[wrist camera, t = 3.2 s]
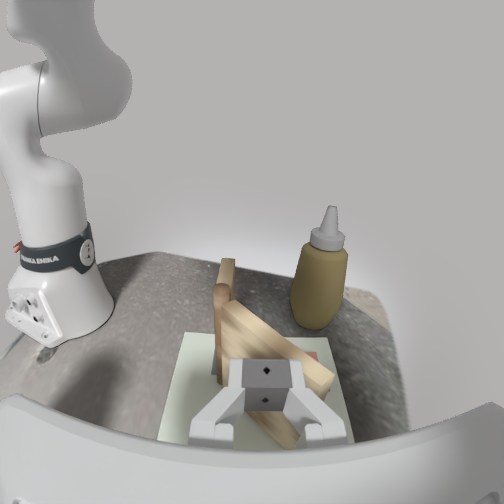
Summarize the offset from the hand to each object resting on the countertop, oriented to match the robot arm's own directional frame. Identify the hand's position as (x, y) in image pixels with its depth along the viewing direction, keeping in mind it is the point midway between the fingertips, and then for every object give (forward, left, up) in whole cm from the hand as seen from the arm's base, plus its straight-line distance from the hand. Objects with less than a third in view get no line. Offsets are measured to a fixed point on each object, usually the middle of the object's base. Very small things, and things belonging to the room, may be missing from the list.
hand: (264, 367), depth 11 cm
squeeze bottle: (+10, +25, -18) cm, 33 cm away
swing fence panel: (+1, +8, -17) cm, 19 cm away
